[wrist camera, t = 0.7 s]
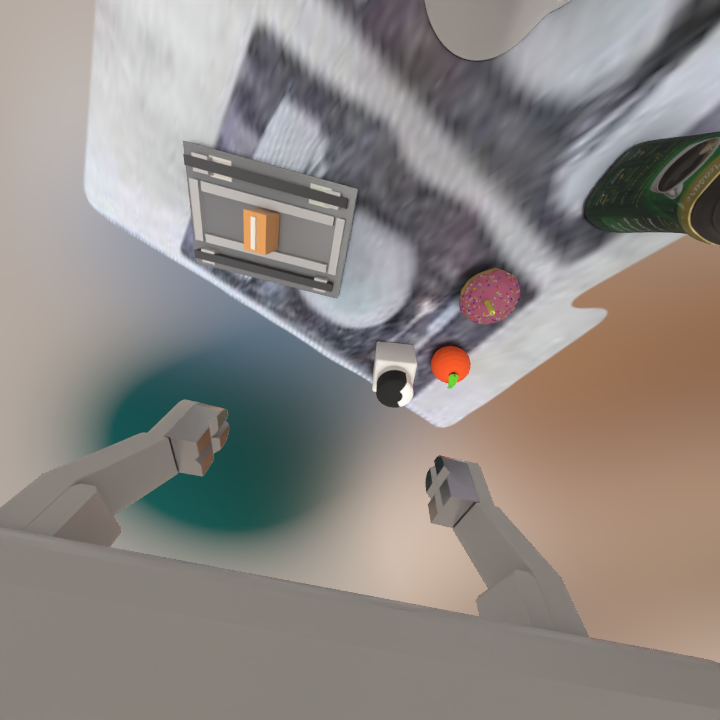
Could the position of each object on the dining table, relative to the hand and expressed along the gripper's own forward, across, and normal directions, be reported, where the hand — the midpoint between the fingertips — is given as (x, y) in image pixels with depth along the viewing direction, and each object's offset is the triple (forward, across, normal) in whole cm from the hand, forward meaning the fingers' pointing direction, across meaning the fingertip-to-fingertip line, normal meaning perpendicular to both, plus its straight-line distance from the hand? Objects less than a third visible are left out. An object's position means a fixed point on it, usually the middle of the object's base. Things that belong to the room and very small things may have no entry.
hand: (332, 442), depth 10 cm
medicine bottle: (+38, -9, +18) cm, 43 cm away
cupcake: (+38, -19, +1) cm, 42 cm away
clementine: (+38, -19, +15) cm, 45 cm away
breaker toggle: (+35, +16, -1) cm, 39 cm away
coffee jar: (+38, -31, -16) cm, 52 cm away
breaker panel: (+38, +16, -1) cm, 41 cm away
